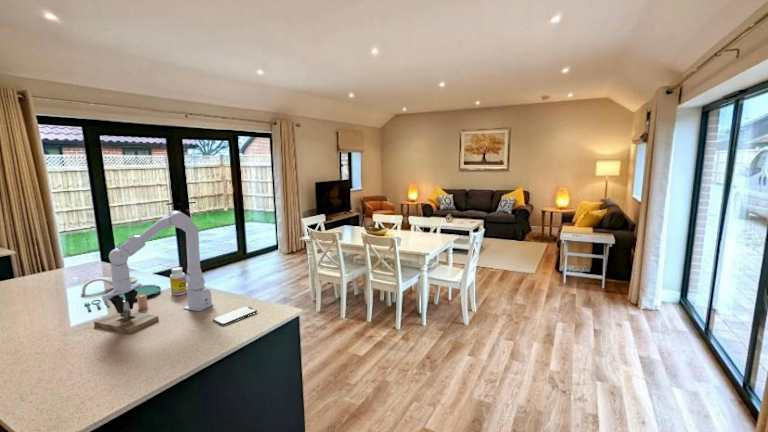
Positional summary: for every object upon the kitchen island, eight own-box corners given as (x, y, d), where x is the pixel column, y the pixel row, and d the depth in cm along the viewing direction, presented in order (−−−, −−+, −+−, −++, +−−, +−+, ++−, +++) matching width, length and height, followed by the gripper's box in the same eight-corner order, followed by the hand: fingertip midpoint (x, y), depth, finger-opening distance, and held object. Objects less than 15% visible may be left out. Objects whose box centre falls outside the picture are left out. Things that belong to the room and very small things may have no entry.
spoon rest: (137, 281, 200) (135, 268, 198) (140, 286, 191) (138, 273, 190) (81, 291, 185) (79, 278, 183) (82, 298, 176) (80, 284, 174)
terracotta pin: (149, 307, 163) (148, 294, 162) (142, 310, 160) (140, 297, 159) (144, 306, 164) (142, 293, 163) (136, 309, 161) (134, 296, 160)
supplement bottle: (180, 296, 176) (177, 271, 174) (168, 295, 177) (165, 270, 175) (190, 291, 182) (187, 266, 180) (178, 290, 184) (176, 266, 182)
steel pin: (133, 314, 148) (131, 300, 147) (124, 317, 145) (122, 303, 144) (127, 312, 149) (125, 299, 148) (118, 316, 146) (116, 302, 145)
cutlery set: (166, 295, 178) (165, 290, 178) (88, 315, 157) (87, 310, 157) (155, 286, 192) (155, 281, 192) (83, 303, 171) (82, 298, 171)
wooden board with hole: (158, 320, 150) (158, 316, 149) (130, 333, 139) (129, 329, 138) (124, 314, 156) (123, 309, 156) (94, 326, 145) (93, 321, 145)
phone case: (223, 328, 144) (258, 313, 156) (222, 324, 143) (258, 310, 156) (211, 322, 149) (246, 308, 162) (211, 318, 149) (246, 305, 161)
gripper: (131, 272, 152) (135, 302, 155) (94, 283, 139) (99, 316, 141) (143, 273, 150) (147, 304, 152) (107, 285, 137) (112, 319, 139)
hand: (125, 310), depth 147 cm, fingers closed on steel pin, 3 cm apart
